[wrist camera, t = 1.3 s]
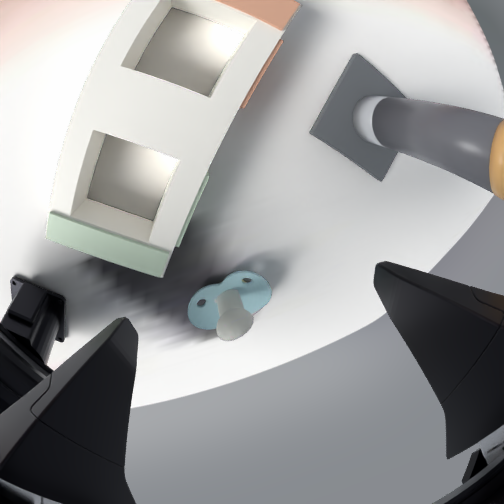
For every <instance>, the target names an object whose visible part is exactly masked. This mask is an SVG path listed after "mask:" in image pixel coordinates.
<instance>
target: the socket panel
mask: <svg viewBox="0 0 504 504" xmlns="http://www.w3.org/2000/svg"><path fill="white" fill-rule="evenodd" d="M301 6H302V5H300V4H299V3H298V2H296V1H294V0H131V1H130V2H129V4H128V5H127V6H126V8H125V9H124V11H123V12H122V14H121V16H120V17H119V19H118V20H117V22H116V24H115V25H114V27H113V29H112V30H111V32H110V34H109V35H108V37H107V39H106V41H105V43H104V44H103V46H102V48H101V50H100V52H99V54H98V56H97V58H96V60H95V62H94V64H93V66H92V68H91V70H90V72H89V75H88V77H87V79H86V81H85V84H84V86H83V88H82V91H81V93H80V96H79V98H78V101H77V103H76V106H75V109H74V111H73V114H72V117H71V120H70V123H69V126H68V129H67V132H66V136H65V139H64V142H63V146H62V149H61V153H60V157H59V161H58V165H57V169H56V173H55V178H54V183H53V188H52V193H51V198H50V204H49V211H48V218H47V225H46V234H45V238H46V239H48V240H51V241H53V242H56V243H58V244H61V245H64V246H67V247H69V248H72V249H75V250H78V251H80V252H83V253H86V254H89V255H92V256H95V257H98V258H100V259H103V260H106V261H109V262H112V263H115V264H118V265H121V266H124V267H128V268H131V269H134V270H137V271H140V272H143V273H146V274H150V275H153V276H156V277H159V278H160V277H162V278H163V276H164V273H165V270H166V268H167V265H168V262H169V260H170V257H171V255H172V252H173V250H174V247H175V246H176V247H179V245H180V243H181V241H182V238H183V236H184V233H185V231H186V229H187V226H188V224H189V222H190V219H191V217H192V215H193V212H194V210H195V208H196V206H197V203H198V201H199V199H200V197H201V195H202V192H203V190H204V188H205V186H206V184H207V182H208V179H209V177H210V176H209V173H208V169H209V167H210V165H211V163H212V160H213V158H214V156H215V154H216V152H217V150H218V148H219V146H220V144H221V142H222V140H223V138H224V136H225V134H226V132H227V130H228V128H229V126H230V125H231V123H232V121H233V119H234V117H235V115H236V113H237V111H238V109H239V108H245V106H246V104H247V103H248V101H249V99H250V97H251V95H252V94H253V92H254V90H255V88H256V86H257V85H258V83H259V81H260V79H261V78H262V76H263V74H264V73H265V71H266V69H267V68H268V66H269V64H270V62H271V61H272V59H273V58H274V56H275V54H276V53H277V51H278V49H279V48H280V46H281V45H282V43H283V40H281V39H280V38H281V36H282V35H283V33H284V32H285V30H286V29H287V27H288V25H289V24H290V22H291V21H292V19H293V18H294V17H295V15H296V14H297V12H298V11H299V9H300V8H301ZM172 7H173V8H176V9H179V10H182V11H185V12H188V13H191V14H194V15H197V16H200V17H203V18H205V19H208V20H211V21H213V22H216V23H218V24H221V25H223V26H225V27H228V28H230V29H232V30H235V31H237V32H239V33H241V34H243V35H244V37H243V38H242V40H241V42H240V43H239V45H238V46H237V48H236V50H235V51H234V53H233V54H232V56H231V58H230V59H229V61H228V63H227V64H226V66H225V68H224V70H223V71H222V73H221V75H220V77H219V78H218V80H217V82H216V84H215V86H214V87H213V89H212V91H211V93H210V95H209V97H207V96H204V95H202V94H200V93H197V92H195V91H192V90H190V89H187V88H185V87H182V86H179V85H177V84H174V83H171V82H168V81H166V80H163V79H160V78H157V77H154V76H151V75H148V74H145V73H142V72H139V71H135V70H134V69H135V67H136V65H137V64H138V62H139V60H140V58H141V56H142V54H143V53H144V51H145V49H146V47H147V45H148V44H149V42H150V40H151V39H152V37H153V35H154V34H155V32H156V31H157V29H158V27H159V26H160V24H161V23H162V21H163V20H164V18H165V17H166V15H167V14H168V12H169V11H170V9H171V8H172ZM106 134H108V135H112V136H115V137H118V138H121V139H123V140H126V141H129V142H132V143H135V144H138V145H141V146H144V147H146V148H149V149H152V150H155V151H157V152H160V153H163V154H165V155H168V156H171V157H173V158H176V159H178V161H177V163H176V165H175V168H174V170H173V173H172V175H171V177H170V180H169V182H168V185H167V187H166V190H165V192H164V195H163V197H162V200H161V202H160V205H159V208H158V210H157V213H156V216H155V218H154V221H151V220H149V219H146V218H143V217H140V216H137V215H134V214H131V213H128V212H125V211H123V210H120V209H117V208H114V207H111V206H108V205H105V204H102V203H100V202H97V201H94V200H91V199H88V198H87V195H88V191H89V187H90V184H91V180H92V177H93V173H94V170H95V166H96V163H97V160H98V157H99V154H100V151H101V148H102V145H103V142H104V139H105V136H106Z"/></svg>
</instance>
